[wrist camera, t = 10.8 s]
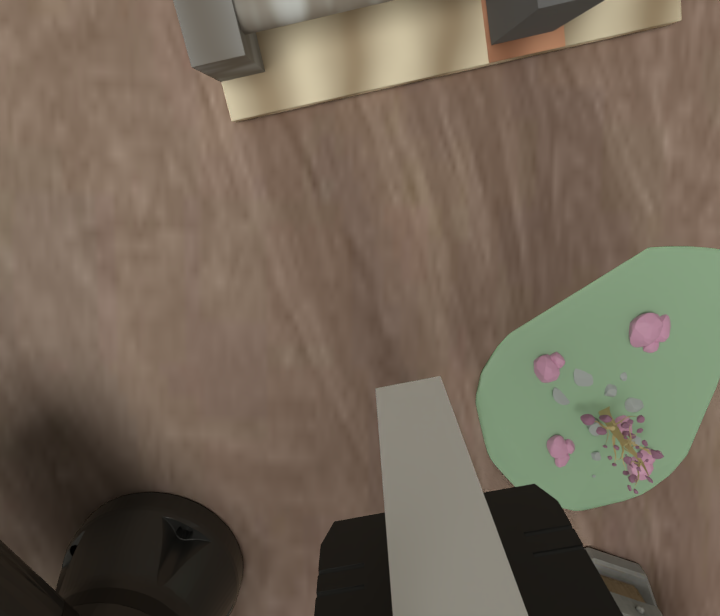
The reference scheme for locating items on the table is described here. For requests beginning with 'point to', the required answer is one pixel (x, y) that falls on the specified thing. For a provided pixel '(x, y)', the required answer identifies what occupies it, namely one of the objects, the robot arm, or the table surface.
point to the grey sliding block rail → (369, 44)
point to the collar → (531, 16)
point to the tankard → (625, 584)
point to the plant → (608, 380)
